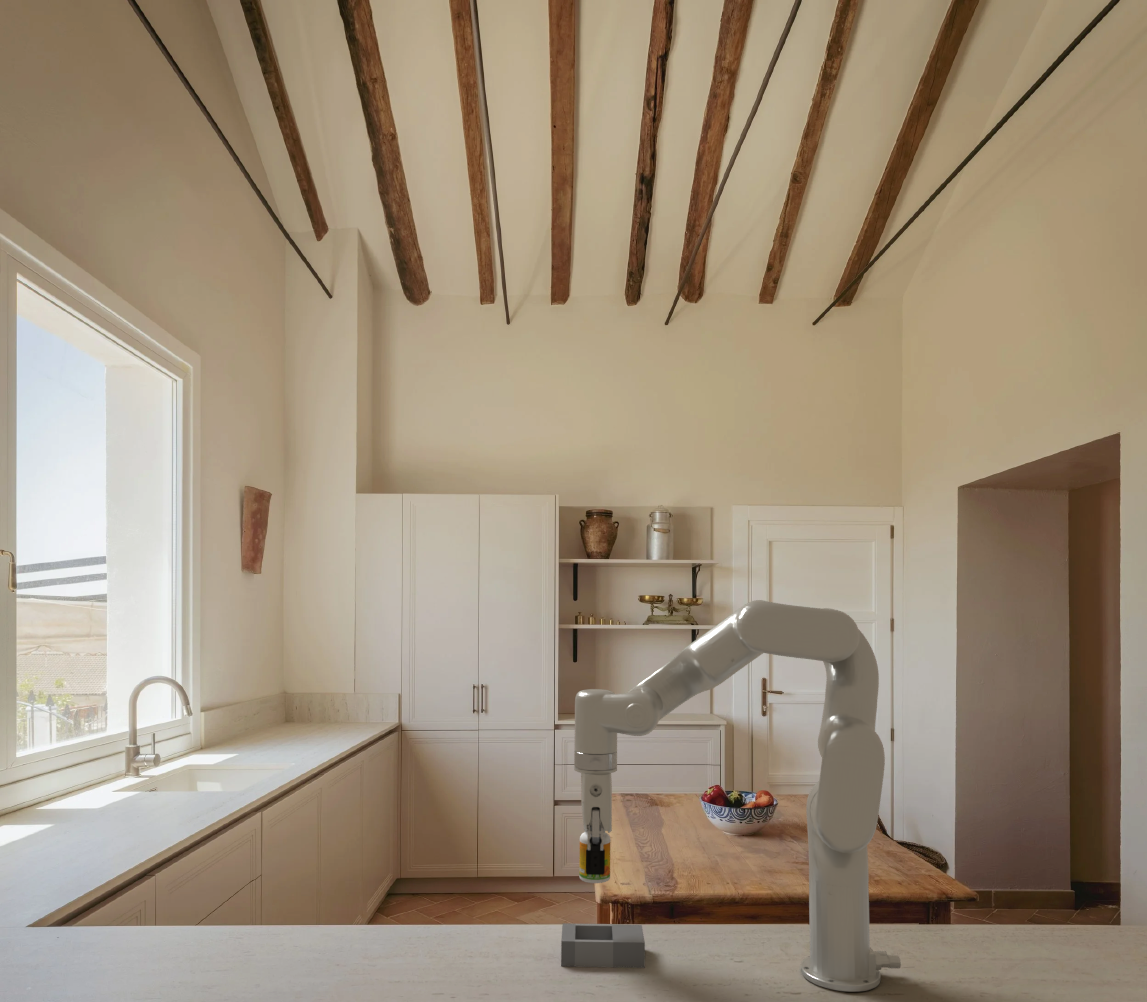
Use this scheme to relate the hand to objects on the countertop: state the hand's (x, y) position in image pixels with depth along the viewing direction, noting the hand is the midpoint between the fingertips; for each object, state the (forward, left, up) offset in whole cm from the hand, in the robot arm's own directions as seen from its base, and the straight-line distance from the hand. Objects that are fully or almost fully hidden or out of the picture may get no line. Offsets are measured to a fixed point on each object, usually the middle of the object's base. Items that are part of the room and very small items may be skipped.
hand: (594, 867), depth 154 cm
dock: (-1, 0, -15) cm, 15 cm away
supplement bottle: (0, 0, -2) cm, 2 cm away
